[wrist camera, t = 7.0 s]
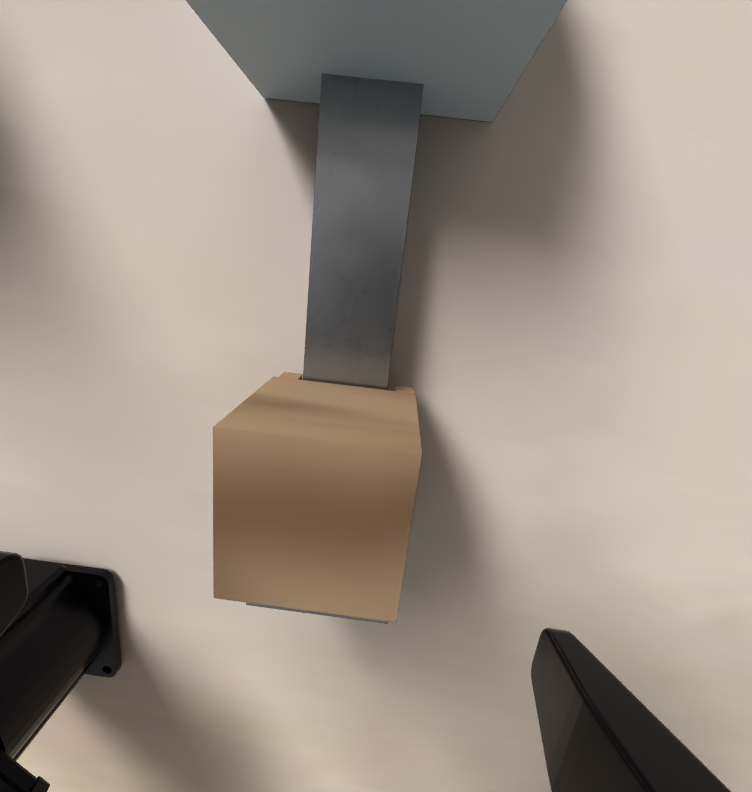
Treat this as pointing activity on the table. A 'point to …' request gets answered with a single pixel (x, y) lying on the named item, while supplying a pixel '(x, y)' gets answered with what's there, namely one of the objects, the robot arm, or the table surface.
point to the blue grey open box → (385, 46)
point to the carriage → (316, 497)
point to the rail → (358, 231)
